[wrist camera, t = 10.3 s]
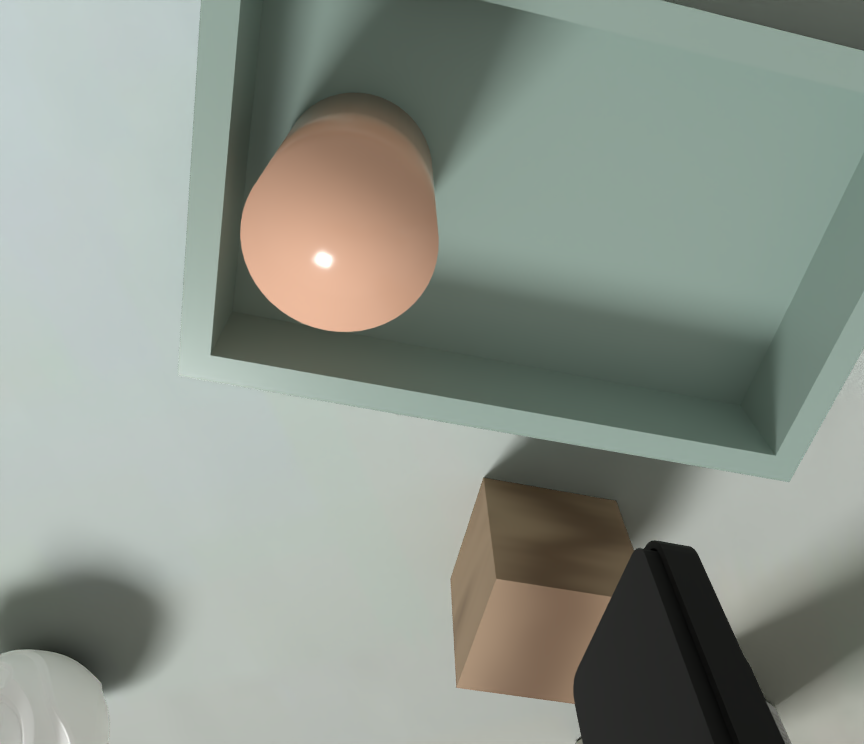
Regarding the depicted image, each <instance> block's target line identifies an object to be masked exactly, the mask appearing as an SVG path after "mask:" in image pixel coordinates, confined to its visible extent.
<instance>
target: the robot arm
mask: <svg viewBox="0 0 864 744" xmlns="http://www.w3.org/2000/svg"><path fill="white" fill-rule="evenodd" d="M573 696H574V702H575V707H576V712H577V717H578V722H579V727H580V732H581V737H582V742H583V744H785V742H784V740H783V738H782V735H781V733H780V731H779V729H778V727H777V724H776V722H775V720H774V718H773V716H772V713H771V711H770V709H769V707H768V705H767V702H766V700H765V698H764V696H763V694H762V691H761V689H760V687H759V685H758V683H757V680H756V678H755V676H754V674H753V672H752V669H751V667H750V665H749V664H748V662H747V660H746V659H745V657H744V655H743V653H742V651H741V649H740V647H739V644H738V642H737V640H736V638H735V635H734V633H733V631H732V629H731V627H730V624H729V622H728V620H727V618H726V616H725V613H724V611H723V609H722V607H721V604H720V602H719V600H718V598H717V596H716V593H715V591H714V589H713V587H712V585H711V582H710V580H709V578H708V576H707V573H706V571H705V569H704V567H703V565H702V562H701V560H700V558H699V556H698V554H697V552H696V551H695V549H693V548H692V547H690V546H684V545H678V544H673V543H667V542H661V541H650V542H649V543H648V544H647V545H646V547H645V548H644V549H642V548H637V549H636V550H635V551H634V552H633V553H632V555H631V557H630V559H629V561H628V563H627V566H626V568H625V570H624V572H623V574H622V576H621V578H620V580H619V582H618V584H617V586H616V589H615V591H614V593H613V595H612V597H611V599H610V601H609V603H608V605H607V607H606V610H605V612H604V614H603V616H602V618H601V620H600V622H599V624H598V626H597V628H596V631H595V633H594V635H593V637H592V639H591V641H590V643H589V645H588V647H587V649H586V652H585V654H584V656H583V658H582V660H581V662H580V664H579V666H578V668H577V671H576V673H575V677H574V684H573Z"/></svg>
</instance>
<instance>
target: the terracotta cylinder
mask: <svg viewBox="0 0 864 744" xmlns="http://www.w3.org/2000/svg"><path fill="white" fill-rule="evenodd" d="M240 238H241V247H242V252H243V256H244V260H245V263H246V265H247V268H248V270H249V273H250V275H251V276H252V278H253V280H254V282H255V284H256V285H257V286H258V288H259V289H260V290H261V292H262V293H263V294H264V295H265V296H266V298H267V299H268V300H269V301H270V302H271V303H272V304H273V305H275V306H276V307H277V308H278V309H279V310H281V311H282V312H284V313H285V314H287V315H288V316H290V317H291V318H293V319H295V320H297V321H299V322H301V323H303V324H306V325H309V326H311V327H314V328H318V329H323V330H327V331H336V332H353V331H362V330H366V329H371V328H375V327H377V326H380V325H383V324H385V323H387V322H389V321H391V320H393V319H395V318H397V317H398V316H399V315H401V314H402V313H404V312H405V311H406V310H407V309H409V308H410V307H411V306H412V305H413V304H414V303H415V302H416V301H417V299H418V298H419V297H420V296H421V295H422V293H423V292H424V290H425V289H426V287H427V285H428V284H429V281H430V279H431V277H432V275H433V272H434V269H435V266H436V262H437V256H438V247H439V236H438V224H437V213H436V201H435V190H434V178H433V167H432V158H431V154H430V150H429V146H428V144H427V141H426V139H425V137H424V135H423V133H422V131H421V129H420V128H419V127H418V125H417V124H416V123H415V121H414V120H413V119H412V118H411V117H410V116H409V115H408V114H407V113H406V112H405V111H404V110H402V109H401V108H400V107H399V106H397V105H395V104H394V103H392V102H390V101H388V100H386V99H384V98H381V97H378V96H375V95H372V94H366V93H342V94H337V95H333V96H330V97H328V98H325V99H323V100H321V101H319V102H317V103H316V104H314V105H312V106H311V107H310V108H309V109H307V110H306V111H305V112H304V113H303V114H302V115H301V116H300V117H299V118H298V120H297V121H296V122H295V124H294V125H293V127H292V128H291V130H290V131H289V133H288V134H287V136H286V138H285V139H284V141H283V142H282V144H281V145H280V147H279V148H278V150H277V151H276V153H275V154H274V156H273V157H272V159H271V160H270V162H269V163H268V165H267V167H266V168H265V170H264V171H263V173H262V174H261V176H260V177H259V179H258V180H257V182H256V183H255V185H254V186H253V188H252V190H251V192H250V194H249V196H248V198H247V200H246V203H245V206H244V209H243V213H242V219H241V231H240Z"/></svg>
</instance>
